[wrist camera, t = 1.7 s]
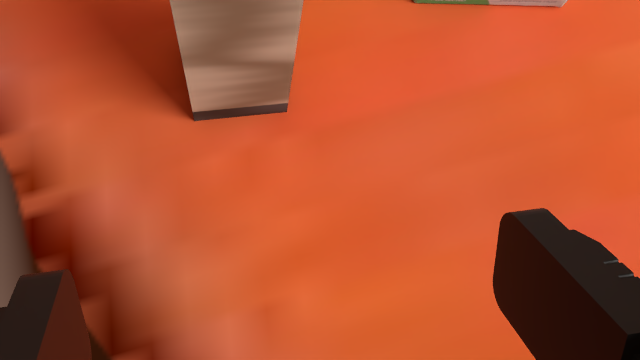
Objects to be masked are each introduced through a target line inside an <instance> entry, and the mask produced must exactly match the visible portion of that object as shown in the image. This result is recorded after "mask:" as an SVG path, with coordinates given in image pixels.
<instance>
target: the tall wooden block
mask: <svg viewBox="0 0 640 360" xmlns="http://www.w3.org/2000/svg"><path fill="white" fill-rule="evenodd" d="M170 4H171V9H172V14H173V19H174V24H175V29H176V34H177V39H178V43H179V48H180V53H181V58H182V63H183V68H184V73H185V78H186V82H187V87H188V92H189V97H190V102H191V107H192V112H193V117H194V121H199V120H209V119H219V118H229V117H239V116H249V115H260V114H270V113H280V112H287V106H288V100H289V93H290V86H291V80H292V73H293V66H294V60H295V53H296V46H297V40H298V33H299V26H300V20H301V13H302V6H303V0H170Z"/></svg>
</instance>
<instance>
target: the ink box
mask: <svg viewBox="0 0 640 360" xmlns="http://www.w3.org/2000/svg"><path fill="white" fill-rule="evenodd" d="M413 1H414V2H415V3H439V4H485V5H489V4H492V5H524V6H529V5H530V6H557V7H562V6H563V5H564V4H565V3H566V2H567V0H413Z"/></svg>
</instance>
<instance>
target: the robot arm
mask: <svg viewBox="0 0 640 360" xmlns="http://www.w3.org/2000/svg"><path fill="white" fill-rule="evenodd" d="M493 289H494V294H495V298H496V301H497V304H498V306H499V308H500V310H501V311H502V313H503V314H504V315H505V317H506V318H507V320H508V321H509V322H510V324H511V325H512V327H513V328H514V329H515V331H516V332H517V334H518V335H519V336H520V338H521V339H522V341H523V342H524V343H525V345H526V346H527V348H528V349H529V350H530V352H531V353H532V355H533V356H534V357H535V359H536V360H640V278H638V277H634V275H633V272H632V271H631V270H630V269H628V268H627V267H626V266H625V265H624V264H623V263H619V262H618V259H617V258H616V257H615V256H614V255H613V254H612V253H611V252H610V251H608V250H607V249H606V248H605V247H604V246H603V245H602V244H601V243H599V242H597V241H595V240H594V239H592V238H590V237H588V236H586V235H584V234H582V233H580V232H578V231H576V230H569V229H567V228H566V227H565V226H564V225H563V224H562V223H561V222H560V221H559V220H558V219H557V218H556V217H555V216H554V215H553V214H551V213H550V212H549V211H548V210H547V209H544V208H540V209H532V210H525V211H517V212H509V213H505V214H504V215H503V217H502V218H501V221H500V227H499V235H498V242H497V250H496V258H495V266H494V274H493ZM0 360H91V347H90V339H89V335H88V331H87V327H86V324H85V320H84V316H83V313H82V309H81V305H80V301H79V298H78V294H77V290H76V286H75V283H74V279H73V276H72V274H71V272H70V271H69V270H68V269H66V270H58V271H50V272H43V273H36V274H27V275H22V276H21V277H20V278H19V280H18V282H17V284H16V287H15V289H14V292H13V294H12V296H11V299H10V301H9V304H8V306H7V307H2V308H0Z"/></svg>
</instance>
